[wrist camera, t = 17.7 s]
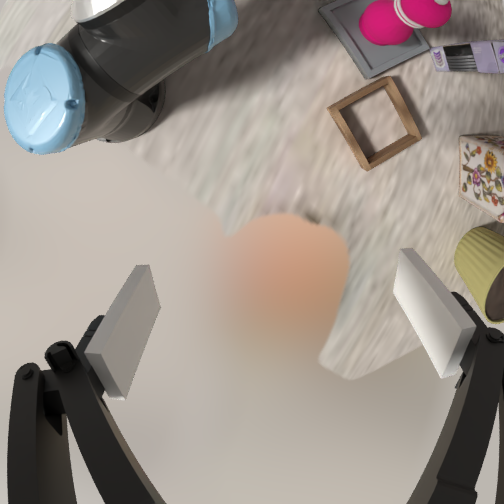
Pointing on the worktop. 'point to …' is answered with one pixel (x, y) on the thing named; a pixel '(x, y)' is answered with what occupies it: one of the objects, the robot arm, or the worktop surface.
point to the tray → (359, 48)
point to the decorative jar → (483, 173)
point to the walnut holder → (402, 111)
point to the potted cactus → (483, 270)
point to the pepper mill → (401, 19)
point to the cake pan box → (470, 56)
